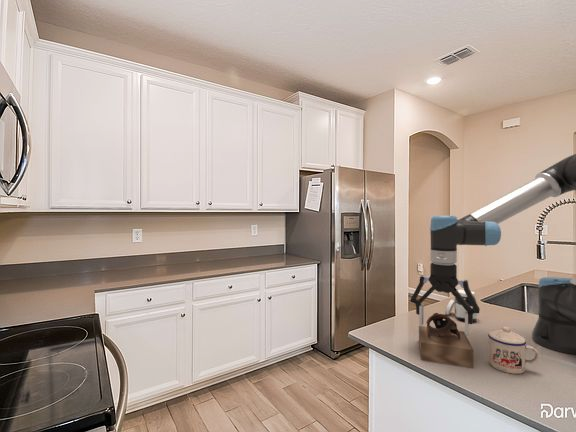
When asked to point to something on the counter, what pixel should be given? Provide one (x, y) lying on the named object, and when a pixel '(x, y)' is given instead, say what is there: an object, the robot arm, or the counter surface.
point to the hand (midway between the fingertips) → (443, 328)
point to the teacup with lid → (508, 351)
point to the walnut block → (446, 348)
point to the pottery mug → (441, 326)
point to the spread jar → (460, 306)
